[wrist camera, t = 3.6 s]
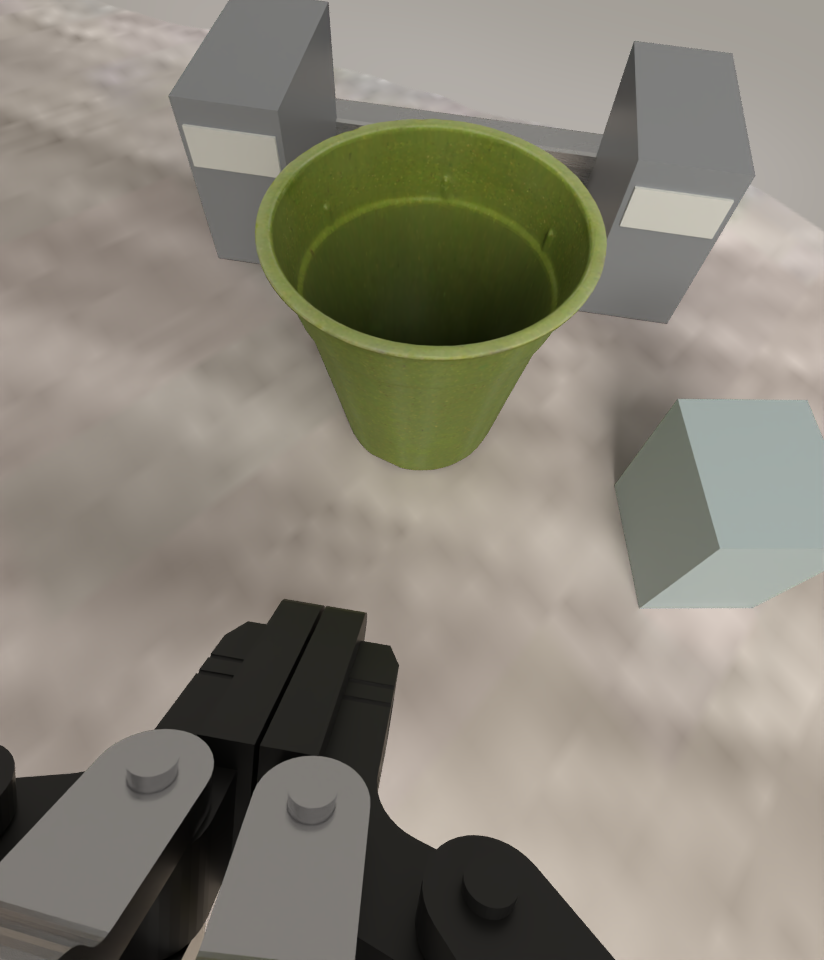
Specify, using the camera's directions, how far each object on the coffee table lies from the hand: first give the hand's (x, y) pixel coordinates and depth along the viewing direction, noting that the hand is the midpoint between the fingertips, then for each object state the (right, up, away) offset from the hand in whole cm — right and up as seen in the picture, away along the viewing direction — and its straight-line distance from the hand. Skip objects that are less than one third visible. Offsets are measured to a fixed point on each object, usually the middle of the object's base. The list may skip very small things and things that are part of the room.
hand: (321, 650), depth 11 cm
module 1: (-6, +20, +26) cm, 33 cm away
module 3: (+14, 0, +16) cm, 21 cm away
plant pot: (+2, +6, +19) cm, 21 cm away
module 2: (+14, +17, +25) cm, 33 cm away
